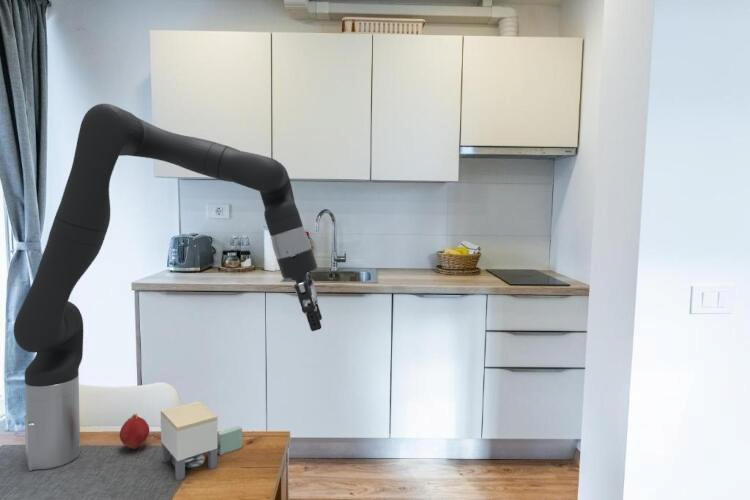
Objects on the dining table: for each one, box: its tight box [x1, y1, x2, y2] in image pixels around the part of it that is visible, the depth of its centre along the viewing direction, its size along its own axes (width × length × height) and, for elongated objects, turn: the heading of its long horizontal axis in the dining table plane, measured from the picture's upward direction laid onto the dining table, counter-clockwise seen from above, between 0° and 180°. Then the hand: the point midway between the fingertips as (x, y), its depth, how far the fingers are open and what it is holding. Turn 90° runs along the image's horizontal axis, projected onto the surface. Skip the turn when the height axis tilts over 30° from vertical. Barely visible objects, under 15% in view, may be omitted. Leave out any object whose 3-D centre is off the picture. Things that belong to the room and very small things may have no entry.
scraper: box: [171, 425, 243, 467], centre depth 100 cm, size 14×5×4 cm, turn 132°
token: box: [185, 454, 206, 469], centre depth 98 cm, size 4×4×1 cm
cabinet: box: [160, 400, 218, 482], centre depth 97 cm, size 8×10×11 cm
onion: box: [119, 413, 150, 450], centre depth 103 cm, size 6×6×8 cm
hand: (317, 325), depth 98 cm, fingers open, 8 cm apart
